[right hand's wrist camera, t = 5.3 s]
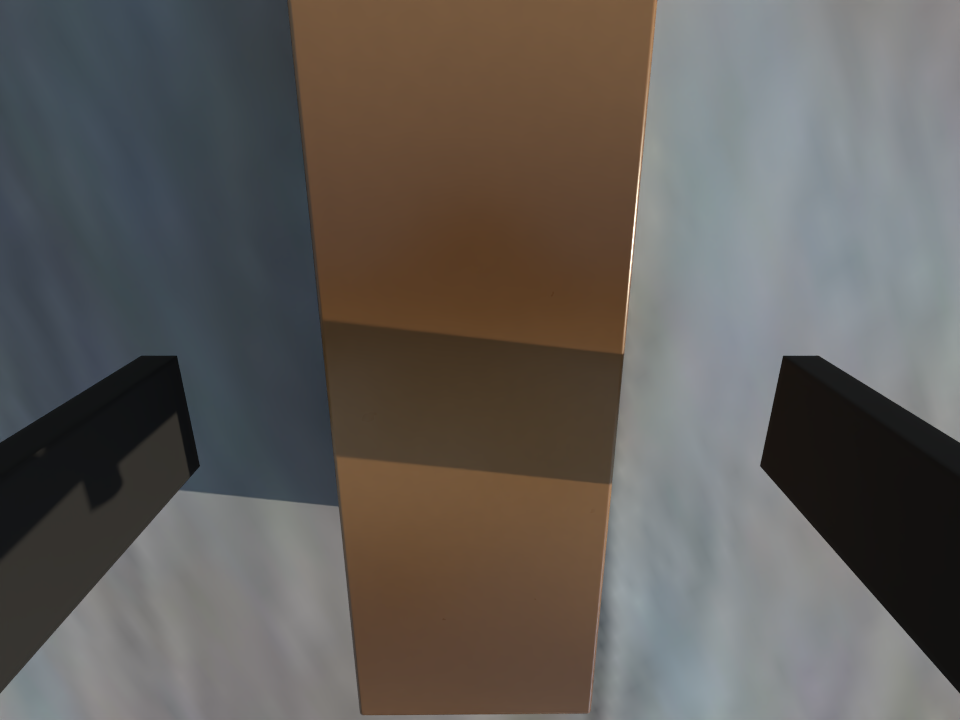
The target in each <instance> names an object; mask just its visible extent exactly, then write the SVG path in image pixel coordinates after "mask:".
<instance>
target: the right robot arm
mask: <svg viewBox="0 0 960 720" xmlns="http://www.w3.org/2000/svg"><path fill="white" fill-rule="evenodd" d="M199 466H200V464H199V460H198V455H197V450H196V445H195V440H194V436H193V431H192V426H191V421H190V417H189V412H188V407H187V402H186V397H185V393H184V388H183V383H182V378H181V373H180V369H179V364H178V359H177V356H140V357H139V358H137V359H135V360H134V361H132V362H131V363H129V364H127V365H126V366H124V367H123V368H121V369H119V370H118V371H116V372H114V373H113V374H111V375H110V376H108V377H106V378H105V379H103V380H101V381H100V382H98V383H97V384H95V385H93V386H92V387H90V388H88V389H87V390H85V391H84V392H82V393H80V394H79V395H77V396H75V397H74V398H72V399H71V400H69V401H67V402H66V403H64V404H62V405H61V406H59V407H58V408H56V409H54V410H53V411H51V412H49V413H48V414H46V415H45V416H43V417H41V418H40V419H38V420H37V421H35V422H33V423H32V424H30V425H28V426H27V427H25V428H24V429H22V430H20V431H19V432H17V433H15V434H14V435H12V436H11V437H9V438H7V439H6V440H4V441H2V442H1V443H0V693H1V692H2V691H3V690H4V688H5V687H6V686H7V685H8V684H9V683H10V682H11V680H12V679H13V678H14V677H15V676H16V675H17V674H18V672H19V671H20V670H21V669H22V668H23V667H24V666H25V664H26V663H27V662H28V661H29V660H30V659H31V658H32V657H33V655H34V654H35V653H36V652H37V651H38V650H39V649H40V647H41V646H42V645H43V644H44V643H45V642H46V641H47V639H48V638H49V637H50V636H51V635H52V634H53V633H54V631H55V630H56V629H57V628H58V627H59V626H60V625H61V624H62V622H63V621H64V620H65V619H66V618H67V617H68V616H69V614H70V613H71V612H72V611H73V610H74V609H75V608H76V606H77V605H78V604H79V603H80V602H81V601H82V600H83V598H84V597H85V596H86V595H87V594H88V593H89V592H90V590H91V589H92V588H93V587H94V586H95V585H96V584H97V583H98V581H99V580H100V579H101V578H102V577H103V576H104V575H105V573H106V572H107V571H108V570H109V569H110V568H111V567H112V565H113V564H114V563H115V562H116V561H117V560H118V559H119V557H120V556H121V555H122V554H123V553H124V552H125V551H126V550H127V548H128V547H129V546H130V545H131V544H132V543H133V542H134V540H135V539H136V538H137V537H138V536H139V535H140V534H141V532H142V531H143V530H144V529H145V528H146V527H147V526H148V524H149V523H150V522H151V521H152V520H153V519H154V518H155V517H156V515H157V514H158V513H159V512H160V511H161V510H162V509H163V507H164V506H165V505H166V504H167V503H168V502H169V501H170V499H171V498H172V497H173V496H174V495H175V494H176V493H177V491H178V490H179V489H180V488H181V487H182V486H183V485H184V484H185V482H186V481H187V480H188V479H189V478H190V477H191V476H192V474H193V473H194V472H195V471H196V470H197V469H198V468H199ZM760 466H761V468H762V469H763V470H764V471H765V472H766V473H767V474H768V476H769V477H770V478H771V479H772V480H773V481H774V482H775V484H776V485H777V486H778V487H779V488H780V489H781V490H782V491H783V493H784V494H785V495H786V496H787V497H788V498H789V499H790V501H791V502H792V503H793V504H794V505H795V506H796V507H797V509H798V510H799V511H800V512H801V513H802V514H803V515H804V517H805V518H806V519H807V520H808V521H809V522H810V523H811V524H812V526H813V527H814V528H815V529H816V530H817V531H818V532H819V534H820V535H821V536H822V537H823V538H824V539H825V540H826V542H827V543H828V544H829V545H830V546H831V547H832V548H833V550H834V551H835V552H836V553H837V554H838V555H839V556H840V557H841V559H842V560H843V561H844V562H845V563H846V564H847V565H848V567H849V568H850V569H851V570H852V571H853V572H854V573H855V575H856V576H857V577H858V578H859V579H860V580H861V581H862V583H863V584H864V585H865V586H866V587H867V588H868V589H869V591H870V592H871V593H872V594H873V595H874V596H875V597H876V598H877V600H878V601H879V602H880V603H881V604H882V605H883V606H884V608H885V609H886V610H887V611H888V612H889V613H890V614H891V616H892V617H893V618H894V619H895V620H896V621H897V622H898V624H899V625H900V626H901V627H902V628H903V629H904V630H905V631H906V633H907V634H908V635H909V636H910V637H911V638H912V639H913V641H914V642H915V643H916V644H917V645H918V646H919V647H920V649H921V650H922V651H923V652H924V653H925V654H926V655H927V657H928V658H929V659H930V660H931V661H932V662H933V663H934V664H935V666H936V667H937V668H938V669H939V670H940V671H941V672H942V674H943V675H944V676H945V677H946V678H947V679H948V680H949V682H950V683H951V684H952V685H953V686H954V687H955V688H956V690H957V691H958V692H959V693H960V443H959V442H958V441H956V440H954V439H953V438H951V437H949V436H948V435H946V434H945V433H943V432H941V431H940V430H938V429H936V428H935V427H933V426H932V425H930V424H928V423H927V422H925V421H923V420H922V419H920V418H919V417H917V416H915V415H914V414H912V413H911V412H909V411H907V410H906V409H904V408H902V407H901V406H899V405H898V404H896V403H894V402H893V401H891V400H889V399H888V398H886V397H885V396H883V395H881V394H880V393H878V392H876V391H875V390H873V389H872V388H870V387H868V386H867V385H865V384H863V383H862V382H860V381H859V380H857V379H855V378H854V377H852V376H850V375H849V374H847V373H846V372H844V371H842V370H841V369H839V368H837V367H836V366H834V365H833V364H831V363H829V362H828V361H826V360H825V359H823V358H821V357H820V356H783V359H782V364H781V369H780V373H779V378H778V383H777V388H776V393H775V397H774V402H773V407H772V412H771V417H770V421H769V426H768V431H767V436H766V440H765V445H764V450H763V455H762V460H761V464H760Z"/></svg>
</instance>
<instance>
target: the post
mask: <svg viewBox="0 0 960 720" xmlns="http://www.w3.org/2000/svg"><path fill="white" fill-rule="evenodd" d="M287 3H288V13H289V23H290V32H291V42H292V52H293V62H294V72H295V81H296V91H297V101H298V111H299V121H300V130H301V140H302V150H303V160H304V170H305V179H306V189H307V199H308V209H309V218H310V228H311V238H312V248H313V258H314V267H315V277H316V287H317V297H318V307H319V316H320V326H321V336H322V346H323V356H324V365H325V375H326V385H327V395H328V405H329V414H330V424H331V434H332V444H333V453H334V463H335V473H336V483H337V493H338V502H339V512H340V522H341V532H342V542H343V551H344V561H345V571H346V581H347V591H348V600H349V610H350V620H351V630H352V640H353V649H354V659H355V669H356V679H357V688H358V698H359V708H360V713H361V714H362V715H450V714H587V713H590V710H591V701H592V690H593V679H594V669H595V658H596V647H597V637H598V626H599V615H600V605H601V594H602V584H603V573H604V562H605V552H606V541H607V530H608V520H609V509H610V498H611V488H612V477H613V466H614V456H615V445H616V434H617V424H618V413H619V403H620V392H621V381H622V371H623V360H624V349H625V339H626V328H627V317H628V307H629V296H630V285H631V275H632V264H633V253H634V243H635V232H636V221H637V211H638V200H639V190H640V179H641V168H642V158H643V147H644V136H645V126H646V115H647V104H648V94H649V83H650V72H651V62H652V51H653V40H654V30H655V19H656V9H657V0H287Z"/></svg>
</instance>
